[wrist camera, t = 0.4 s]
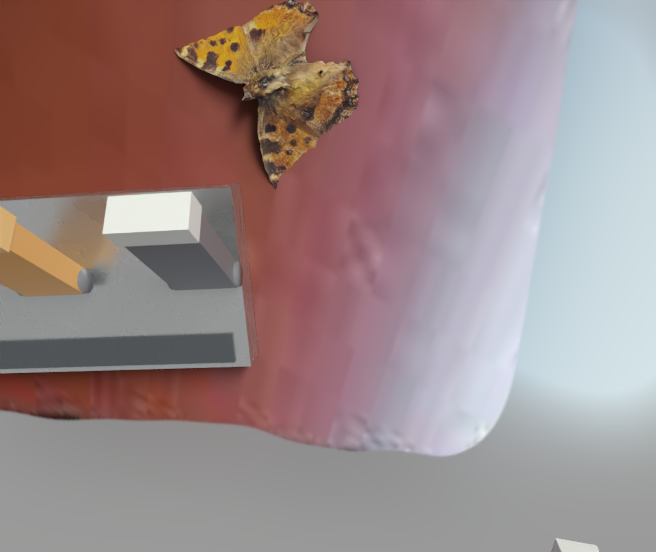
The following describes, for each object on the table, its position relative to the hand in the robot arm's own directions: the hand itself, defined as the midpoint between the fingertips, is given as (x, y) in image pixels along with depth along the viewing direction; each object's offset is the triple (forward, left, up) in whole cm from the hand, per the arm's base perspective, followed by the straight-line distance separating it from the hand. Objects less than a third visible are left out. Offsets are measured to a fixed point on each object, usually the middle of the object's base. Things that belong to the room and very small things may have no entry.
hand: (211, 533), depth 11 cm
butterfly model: (-10, -2, -28) cm, 30 cm away
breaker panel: (+2, -15, -27) cm, 31 cm away
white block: (+2, -7, -25) cm, 26 cm away
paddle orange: (+2, -17, -25) cm, 30 cm away
